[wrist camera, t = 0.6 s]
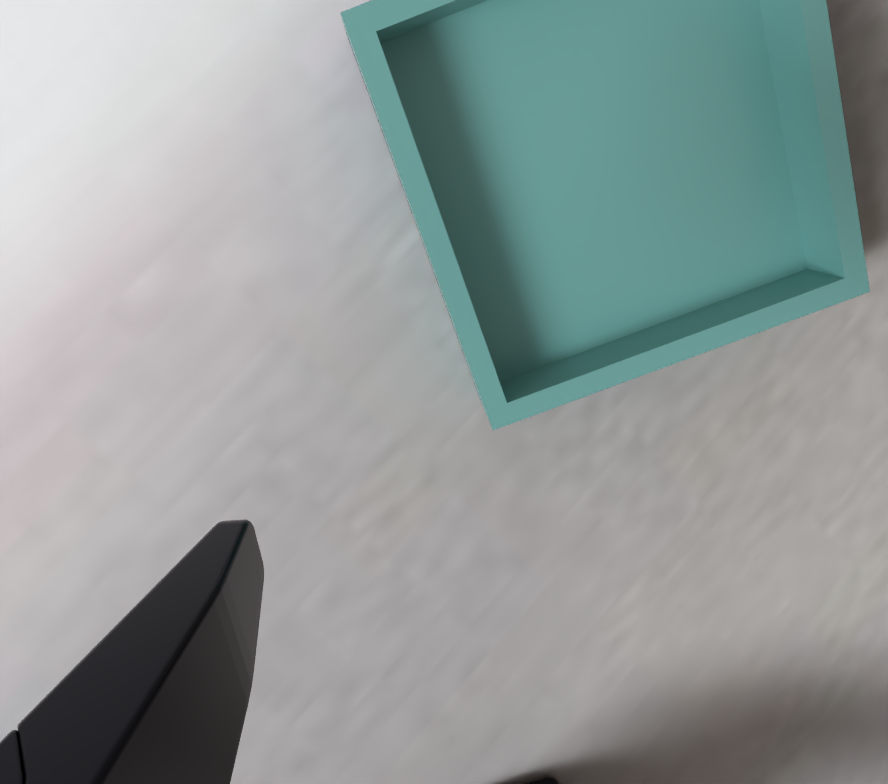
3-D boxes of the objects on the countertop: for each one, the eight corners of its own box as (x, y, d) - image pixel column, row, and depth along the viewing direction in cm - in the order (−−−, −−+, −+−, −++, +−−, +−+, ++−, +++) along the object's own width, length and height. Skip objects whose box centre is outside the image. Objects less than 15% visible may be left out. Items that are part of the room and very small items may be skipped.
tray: (812, 276, 24) (869, 291, 21) (480, 399, 25) (493, 430, 22) (742, -122, 20) (801, -168, 17) (346, 33, 21) (340, 13, 18)
